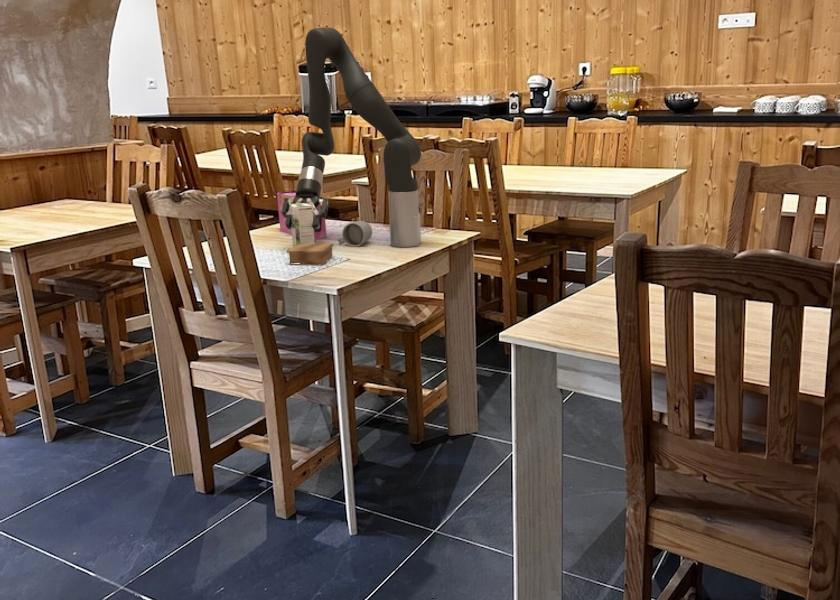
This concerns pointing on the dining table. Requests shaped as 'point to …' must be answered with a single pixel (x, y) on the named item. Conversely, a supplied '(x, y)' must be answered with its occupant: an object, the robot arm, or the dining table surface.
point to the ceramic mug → (356, 233)
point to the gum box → (318, 232)
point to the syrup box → (302, 223)
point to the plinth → (310, 253)
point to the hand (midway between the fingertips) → (301, 227)
